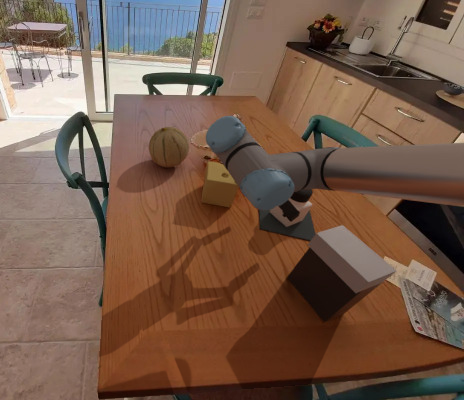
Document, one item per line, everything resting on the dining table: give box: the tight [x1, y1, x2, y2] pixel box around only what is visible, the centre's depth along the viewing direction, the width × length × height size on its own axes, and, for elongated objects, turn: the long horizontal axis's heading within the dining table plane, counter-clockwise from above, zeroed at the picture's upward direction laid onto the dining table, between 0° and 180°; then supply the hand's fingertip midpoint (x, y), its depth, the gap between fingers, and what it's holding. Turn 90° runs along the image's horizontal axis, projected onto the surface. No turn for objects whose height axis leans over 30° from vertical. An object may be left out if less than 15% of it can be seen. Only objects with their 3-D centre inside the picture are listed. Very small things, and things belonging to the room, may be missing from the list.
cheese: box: [200, 160, 239, 209], centre depth 87 cm, size 10×11×10 cm
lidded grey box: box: [286, 224, 398, 323], centre depth 59 cm, size 8×12×18 cm, turn 20°
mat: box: [258, 209, 316, 242], centre depth 84 cm, size 16×16×1 cm
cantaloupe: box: [148, 126, 190, 168], centre depth 98 cm, size 15×15×15 cm
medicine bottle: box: [270, 189, 314, 227], centre depth 80 cm, size 7×7×12 cm
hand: (276, 201), depth 76 cm, fingers open, 13 cm apart
